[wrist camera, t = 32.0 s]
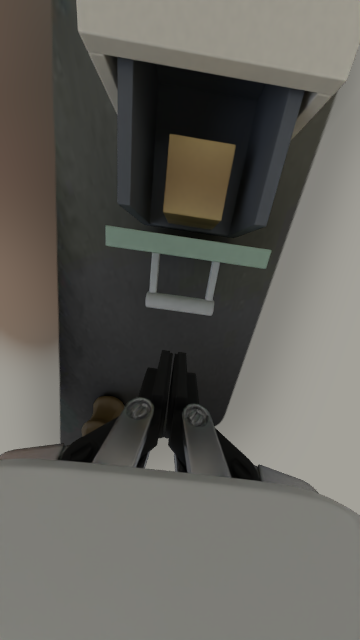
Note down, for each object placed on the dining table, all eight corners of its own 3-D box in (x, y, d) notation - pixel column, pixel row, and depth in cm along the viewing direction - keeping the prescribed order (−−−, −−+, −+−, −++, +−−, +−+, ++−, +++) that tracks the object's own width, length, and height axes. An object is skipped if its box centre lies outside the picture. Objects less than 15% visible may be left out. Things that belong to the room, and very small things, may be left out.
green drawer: (224, 304, 20) (246, 330, 13) (135, 291, 20) (107, 312, 13) (272, 102, 14) (370, -66, 7) (143, 79, 14) (96, -125, 6)
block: (173, 167, 15) (169, 132, 11) (222, 175, 15) (236, 144, 11) (168, 223, 16) (162, 212, 12) (211, 229, 16) (221, 221, 12)
